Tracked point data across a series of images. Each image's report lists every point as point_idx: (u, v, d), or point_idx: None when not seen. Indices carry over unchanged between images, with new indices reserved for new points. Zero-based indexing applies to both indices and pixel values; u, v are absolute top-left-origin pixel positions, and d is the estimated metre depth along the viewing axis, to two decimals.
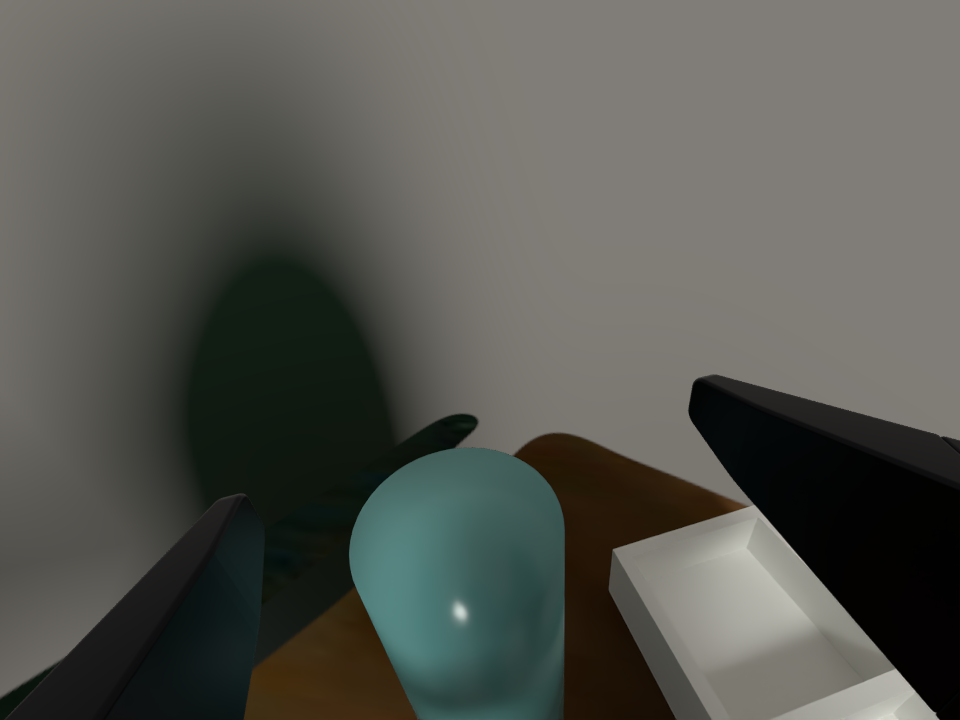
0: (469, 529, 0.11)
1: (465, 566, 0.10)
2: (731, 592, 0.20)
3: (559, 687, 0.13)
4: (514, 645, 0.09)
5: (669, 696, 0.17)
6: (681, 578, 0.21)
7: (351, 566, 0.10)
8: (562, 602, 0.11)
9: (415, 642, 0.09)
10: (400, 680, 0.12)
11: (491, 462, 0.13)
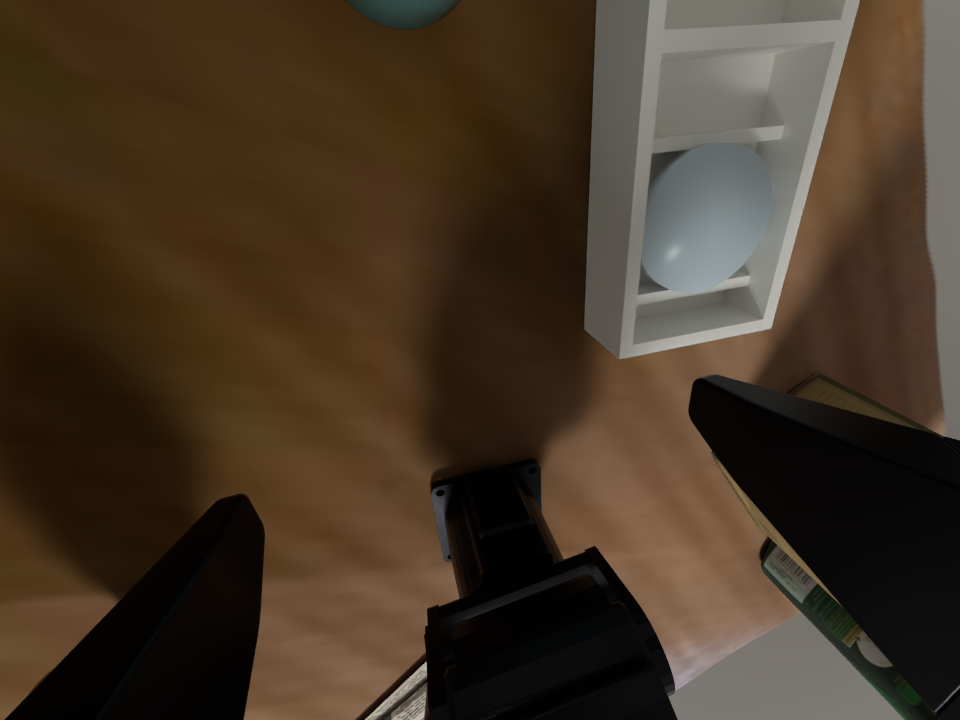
0: None
1: None
2: None
3: None
4: None
5: None
6: None
7: None
8: None
9: None
10: None
11: None
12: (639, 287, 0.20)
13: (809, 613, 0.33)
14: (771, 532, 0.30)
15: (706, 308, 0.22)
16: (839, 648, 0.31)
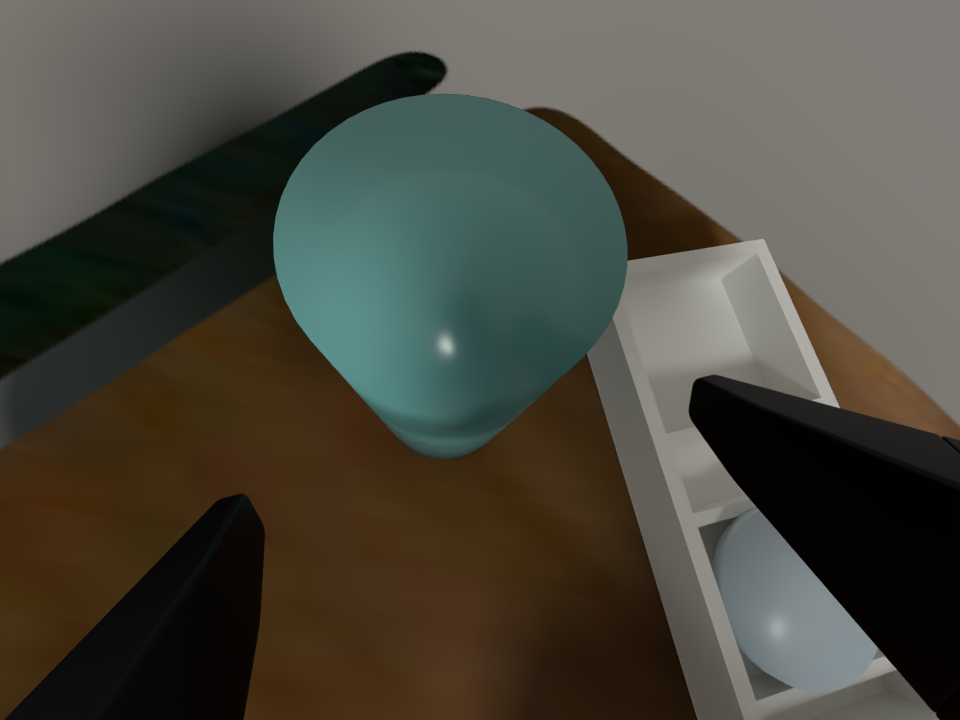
0: (478, 245, 0.07)
1: (471, 302, 0.06)
2: (690, 318, 0.20)
3: None
4: (524, 401, 0.07)
5: (605, 394, 0.19)
6: (648, 299, 0.20)
7: (280, 279, 0.06)
8: None
9: (393, 397, 0.06)
10: None
11: (517, 132, 0.07)
12: (757, 683, 0.16)
13: None
14: None
15: (869, 705, 0.16)
16: None
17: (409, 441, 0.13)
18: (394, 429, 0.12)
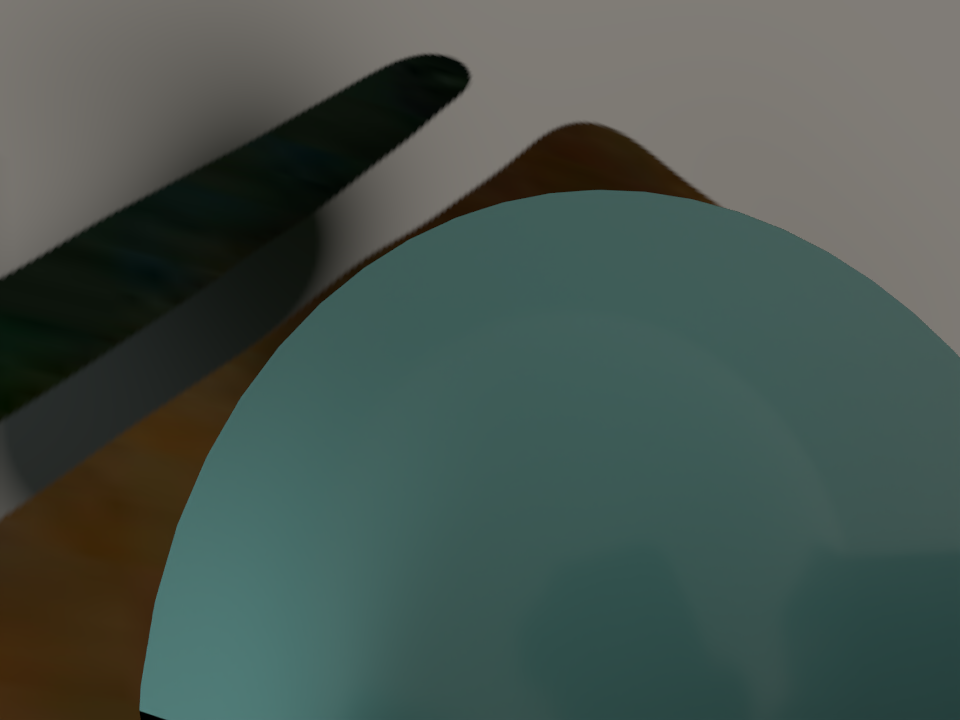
0: (740, 656, 0.02)
1: None
2: None
3: None
4: None
5: None
6: None
7: None
8: None
9: None
10: None
11: (778, 288, 0.03)
12: None
13: None
14: None
15: None
16: None
17: None
18: None
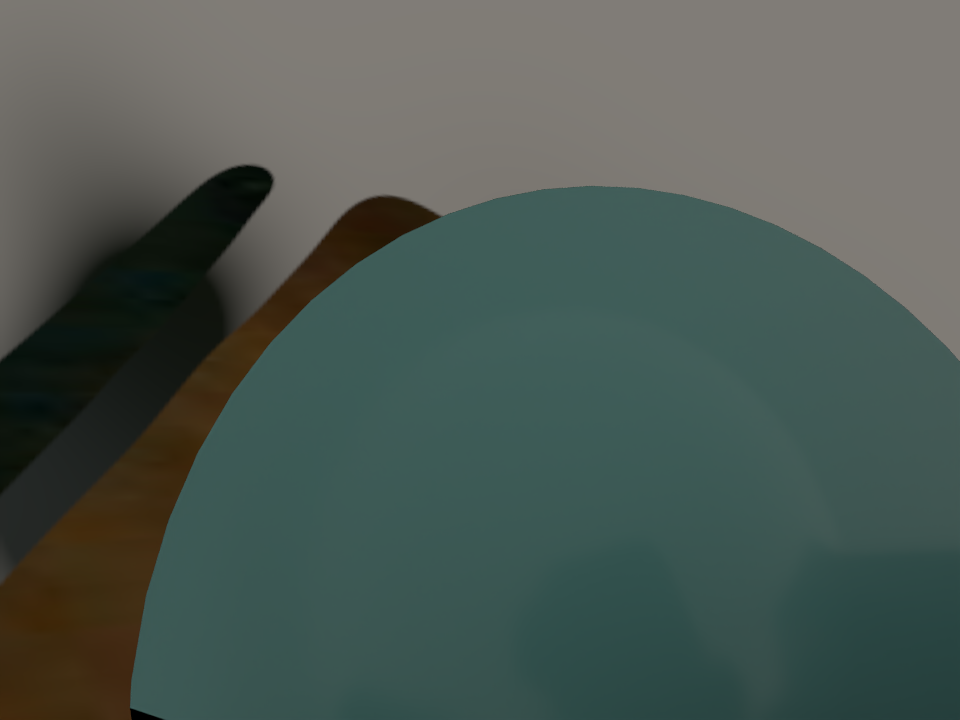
0: (732, 651, 0.02)
1: None
2: None
3: None
4: None
5: None
6: None
7: None
8: None
9: None
10: None
11: (770, 283, 0.03)
12: None
13: None
14: None
15: None
16: None
17: None
18: None
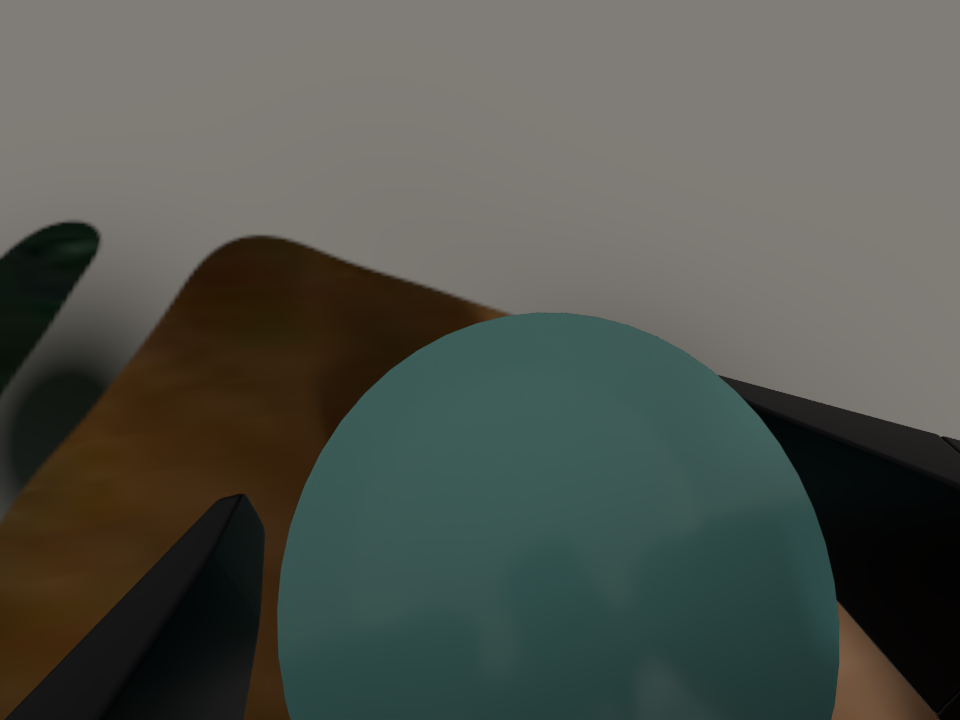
0: (605, 599, 0.04)
1: None
2: None
3: None
4: None
5: None
6: None
7: (289, 703, 0.04)
8: None
9: None
10: None
11: (649, 377, 0.05)
12: None
13: None
14: None
15: None
16: None
17: None
18: None
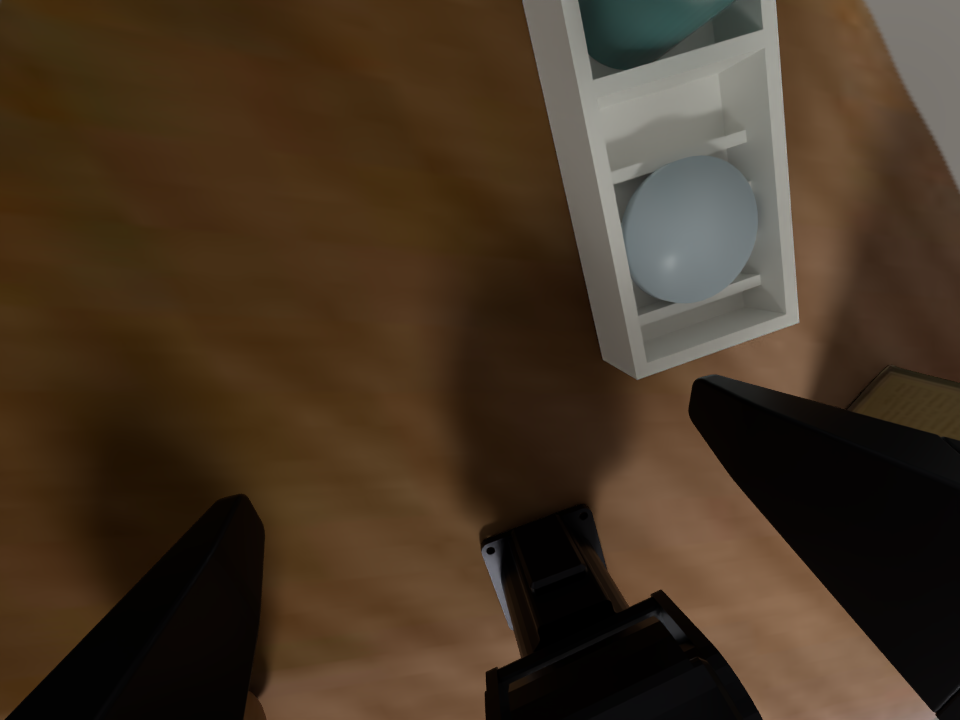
0: None
1: None
2: None
3: None
4: None
5: (539, 50, 0.17)
6: None
7: None
8: None
9: None
10: None
11: None
12: (645, 307, 0.20)
13: None
14: None
15: (725, 316, 0.21)
16: None
17: None
18: None
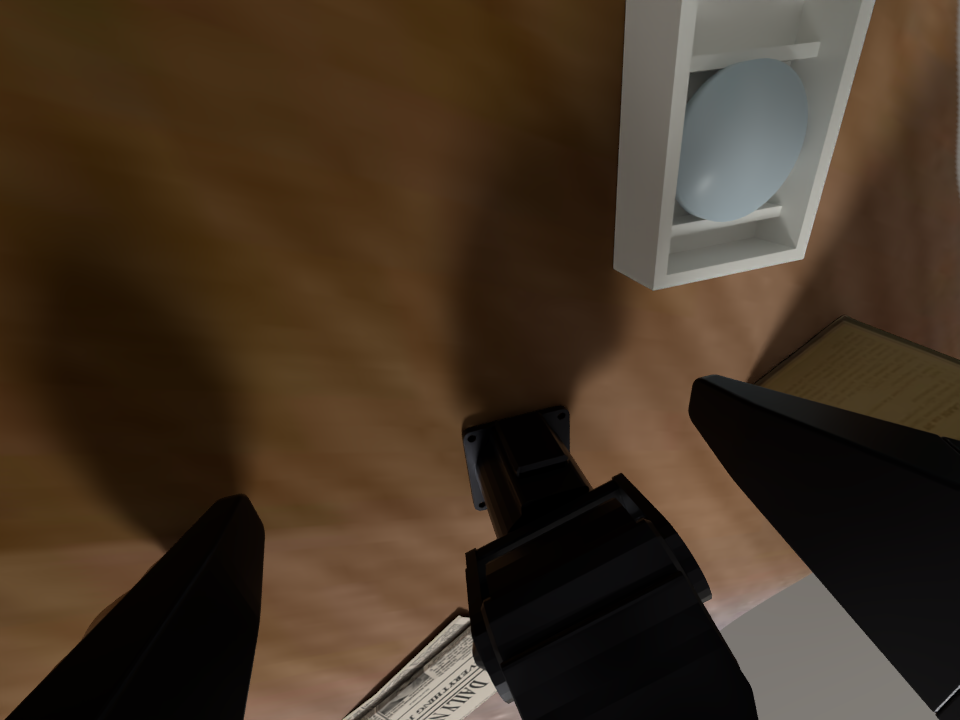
0: None
1: None
2: None
3: None
4: None
5: None
6: None
7: None
8: None
9: None
10: None
11: None
12: None
13: None
14: None
15: (736, 243, 0.21)
16: None
17: None
18: None
